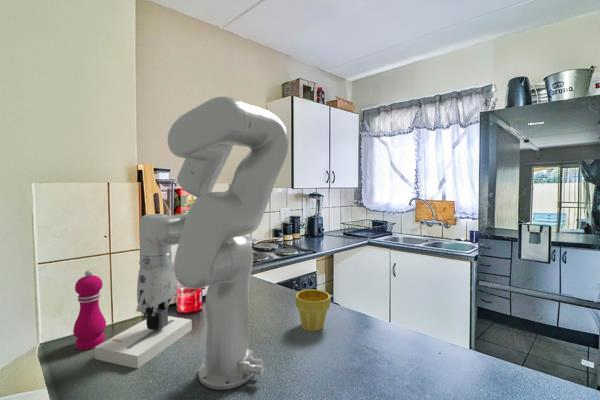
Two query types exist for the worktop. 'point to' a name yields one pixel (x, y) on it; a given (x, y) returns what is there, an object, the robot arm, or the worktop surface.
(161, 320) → the fader cap
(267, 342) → the worktop surface
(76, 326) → the pepper mill
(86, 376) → the worktop surface
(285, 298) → the worktop surface
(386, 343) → the worktop surface
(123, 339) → the slotted white slab
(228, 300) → the robot arm
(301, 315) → the plant pot
